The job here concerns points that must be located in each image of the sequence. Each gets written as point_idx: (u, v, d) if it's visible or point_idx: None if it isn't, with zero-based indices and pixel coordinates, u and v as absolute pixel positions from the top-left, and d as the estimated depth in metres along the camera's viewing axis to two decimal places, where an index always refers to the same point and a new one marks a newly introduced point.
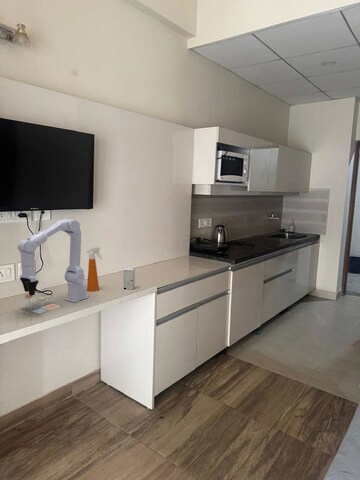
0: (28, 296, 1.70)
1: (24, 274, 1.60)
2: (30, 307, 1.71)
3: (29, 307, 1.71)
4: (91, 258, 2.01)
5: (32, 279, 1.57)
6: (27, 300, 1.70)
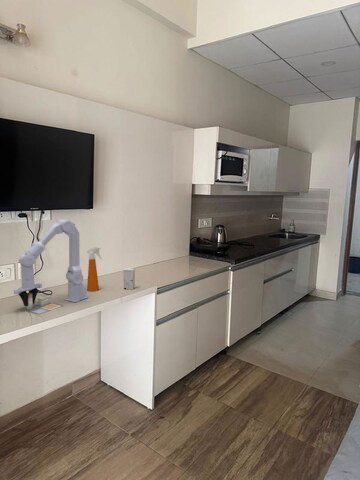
0: (28, 296, 1.70)
1: None
2: (30, 307, 1.71)
3: (29, 307, 1.71)
4: (91, 258, 2.01)
5: (14, 292, 1.65)
6: None
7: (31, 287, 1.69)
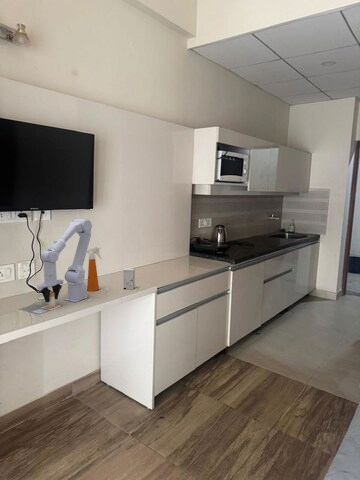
0: (51, 295, 1.72)
1: None
2: (53, 306, 1.73)
3: (52, 306, 1.73)
4: (91, 258, 2.01)
5: (38, 287, 1.67)
6: (50, 299, 1.72)
7: (54, 283, 1.71)
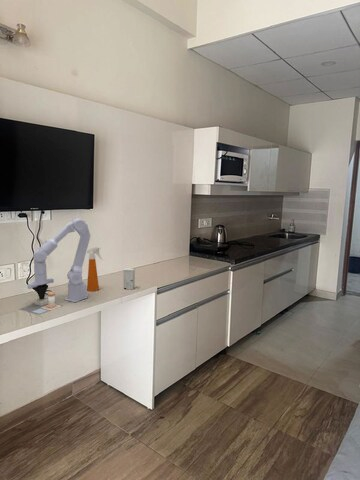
0: (51, 294, 1.72)
1: None
2: (53, 305, 1.73)
3: (52, 305, 1.73)
4: (91, 258, 2.01)
5: (28, 286, 1.72)
6: (50, 298, 1.72)
7: (44, 282, 1.76)
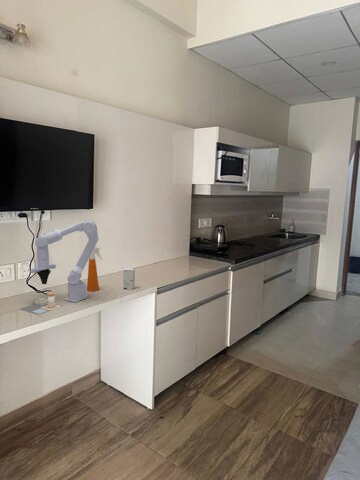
0: (50, 295, 1.72)
1: None
2: (52, 305, 1.73)
3: (51, 305, 1.73)
4: (91, 258, 2.01)
5: (31, 271, 1.76)
6: (49, 299, 1.72)
7: (46, 267, 1.80)
